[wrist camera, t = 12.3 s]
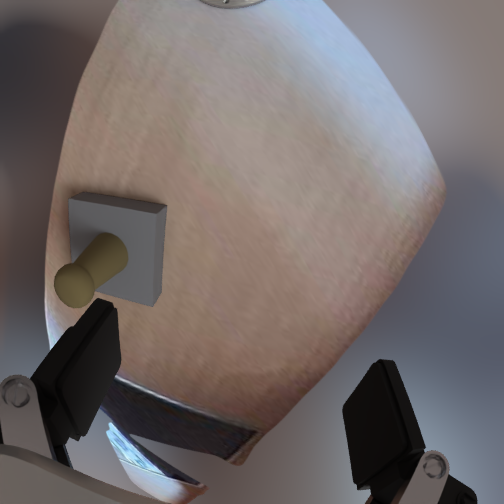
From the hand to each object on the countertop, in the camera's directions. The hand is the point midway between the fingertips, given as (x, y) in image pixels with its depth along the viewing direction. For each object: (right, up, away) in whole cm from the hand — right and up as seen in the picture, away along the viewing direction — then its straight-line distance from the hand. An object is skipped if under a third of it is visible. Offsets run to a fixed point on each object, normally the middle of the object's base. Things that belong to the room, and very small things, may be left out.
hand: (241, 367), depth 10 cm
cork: (-19, +4, +28) cm, 34 cm away
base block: (-19, +5, +31) cm, 37 cm away
